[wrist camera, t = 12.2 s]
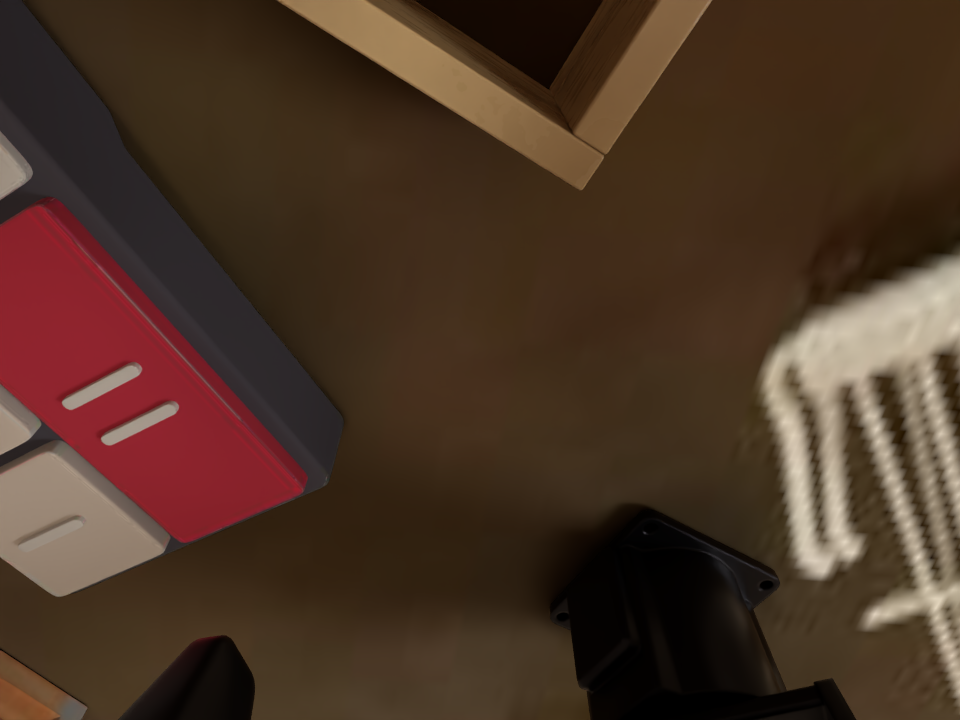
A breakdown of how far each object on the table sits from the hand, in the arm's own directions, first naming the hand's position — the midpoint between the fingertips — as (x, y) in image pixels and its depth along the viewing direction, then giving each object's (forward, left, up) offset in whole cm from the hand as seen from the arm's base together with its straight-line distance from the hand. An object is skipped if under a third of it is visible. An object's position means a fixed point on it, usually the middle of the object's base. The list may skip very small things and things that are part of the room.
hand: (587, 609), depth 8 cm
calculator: (+11, +9, -13) cm, 19 cm away
